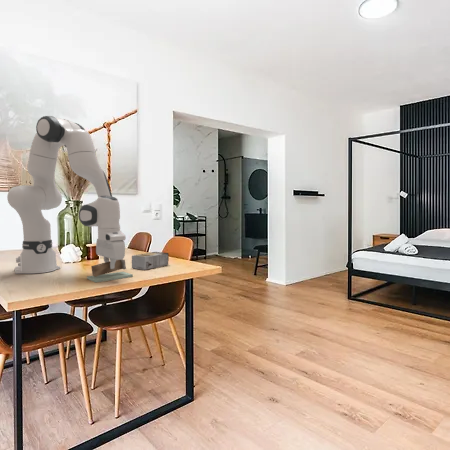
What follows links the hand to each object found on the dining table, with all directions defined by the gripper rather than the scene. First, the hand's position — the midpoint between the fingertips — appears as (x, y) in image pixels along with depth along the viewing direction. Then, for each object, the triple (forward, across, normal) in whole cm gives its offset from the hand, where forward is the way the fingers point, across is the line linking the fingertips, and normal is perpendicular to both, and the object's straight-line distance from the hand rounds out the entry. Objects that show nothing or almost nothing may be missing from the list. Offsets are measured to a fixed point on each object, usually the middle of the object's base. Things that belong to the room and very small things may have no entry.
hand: (109, 267), depth 149 cm
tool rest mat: (+4, 0, 0) cm, 4 cm away
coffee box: (+1, -9, +18) cm, 20 cm away
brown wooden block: (+2, 0, -1) cm, 2 cm away
